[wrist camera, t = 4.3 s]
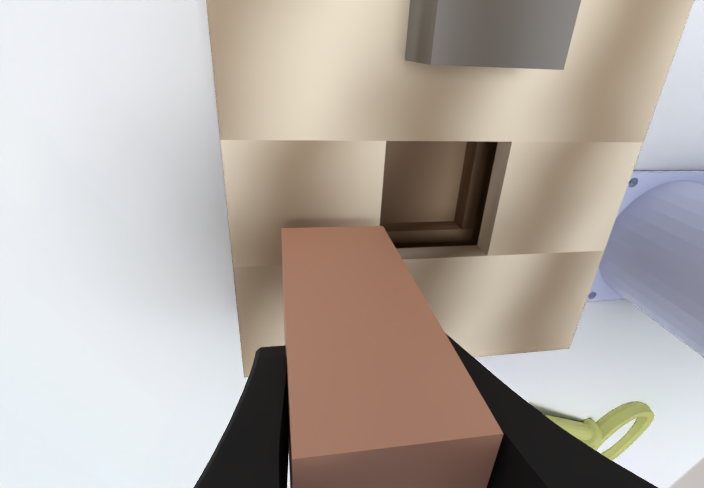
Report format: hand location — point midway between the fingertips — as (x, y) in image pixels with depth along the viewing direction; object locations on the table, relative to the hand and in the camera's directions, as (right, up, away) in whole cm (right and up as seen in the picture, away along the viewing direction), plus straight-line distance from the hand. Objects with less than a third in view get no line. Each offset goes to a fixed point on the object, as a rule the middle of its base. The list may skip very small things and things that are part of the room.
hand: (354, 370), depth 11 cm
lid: (+3, +5, +6) cm, 9 cm away
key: (+17, -11, +21) cm, 30 cm away
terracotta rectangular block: (-1, +2, +4) cm, 5 cm away
